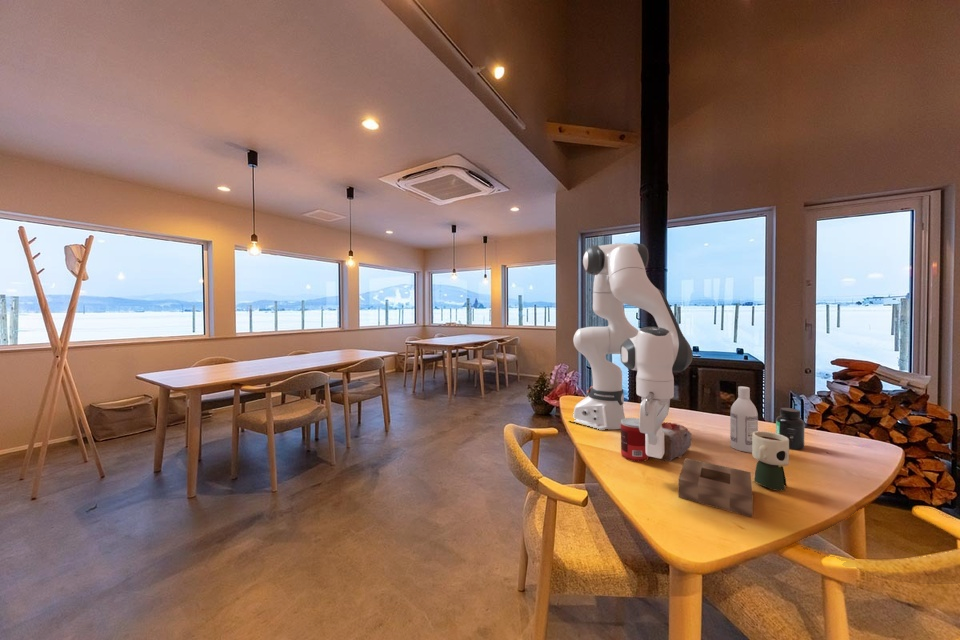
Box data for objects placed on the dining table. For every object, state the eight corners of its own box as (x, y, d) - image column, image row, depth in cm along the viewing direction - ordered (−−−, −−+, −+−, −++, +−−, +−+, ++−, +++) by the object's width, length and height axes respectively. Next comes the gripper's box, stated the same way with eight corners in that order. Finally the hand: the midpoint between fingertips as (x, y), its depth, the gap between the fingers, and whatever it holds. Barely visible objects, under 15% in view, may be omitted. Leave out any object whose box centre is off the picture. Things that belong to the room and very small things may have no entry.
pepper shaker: (645, 456, 89) (644, 420, 89) (648, 450, 92) (647, 416, 92) (662, 460, 87) (661, 423, 86) (664, 454, 90) (664, 419, 90)
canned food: (654, 458, 103) (654, 422, 103) (637, 464, 99) (637, 427, 99) (632, 449, 110) (631, 416, 110) (615, 455, 106) (615, 420, 106)
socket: (678, 497, 82) (678, 478, 82) (685, 474, 93) (685, 458, 93) (752, 517, 73) (752, 497, 73) (750, 489, 85) (750, 472, 84)
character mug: (778, 499, 80) (778, 445, 80) (743, 485, 87) (743, 435, 86) (797, 486, 86) (797, 436, 85) (762, 475, 92) (763, 427, 92)
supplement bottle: (774, 445, 111) (774, 409, 110) (777, 440, 115) (777, 405, 115) (803, 452, 106) (803, 414, 105) (805, 446, 110) (805, 409, 110)
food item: (666, 444, 114) (666, 415, 114) (693, 451, 108) (693, 421, 107) (648, 455, 105) (648, 424, 105) (675, 464, 99) (675, 431, 99)
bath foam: (760, 449, 109) (760, 387, 108) (754, 455, 104) (754, 390, 104) (733, 442, 114) (734, 383, 113) (727, 448, 109) (727, 387, 109)
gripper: (660, 399, 79) (660, 457, 79) (674, 383, 95) (674, 431, 96) (632, 395, 83) (632, 451, 83) (649, 380, 99) (649, 427, 99)
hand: (654, 440), depth 89 cm, fingers closed on pepper shaker, 4 cm apart
